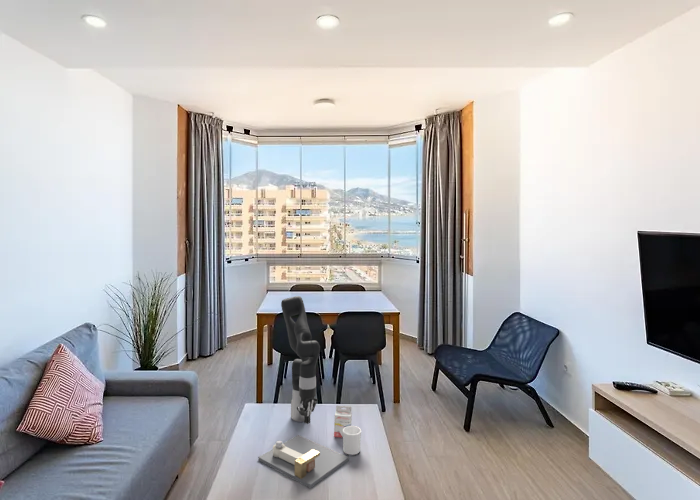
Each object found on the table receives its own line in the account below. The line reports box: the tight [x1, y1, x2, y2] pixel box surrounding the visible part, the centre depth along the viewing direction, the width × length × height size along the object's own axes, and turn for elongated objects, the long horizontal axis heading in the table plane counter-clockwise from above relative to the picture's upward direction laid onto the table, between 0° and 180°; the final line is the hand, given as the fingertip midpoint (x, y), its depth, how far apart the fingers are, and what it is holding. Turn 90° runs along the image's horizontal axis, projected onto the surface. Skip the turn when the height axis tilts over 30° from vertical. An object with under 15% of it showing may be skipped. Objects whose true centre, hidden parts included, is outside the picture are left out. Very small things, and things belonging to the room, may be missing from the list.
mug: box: [342, 425, 362, 456], centre depth 197 cm, size 11×9×10 cm
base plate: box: [258, 434, 350, 489], centre depth 188 cm, size 32×26×2 cm
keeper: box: [295, 449, 320, 479], centre depth 177 cm, size 4×12×8 cm, turn 143°
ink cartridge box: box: [333, 405, 353, 439], centre depth 211 cm, size 9×5×15 cm, turn 84°
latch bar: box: [272, 440, 315, 472], centre depth 184 cm, size 23×6×6 cm, turn 54°
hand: (307, 422), depth 184 cm, fingers closed
